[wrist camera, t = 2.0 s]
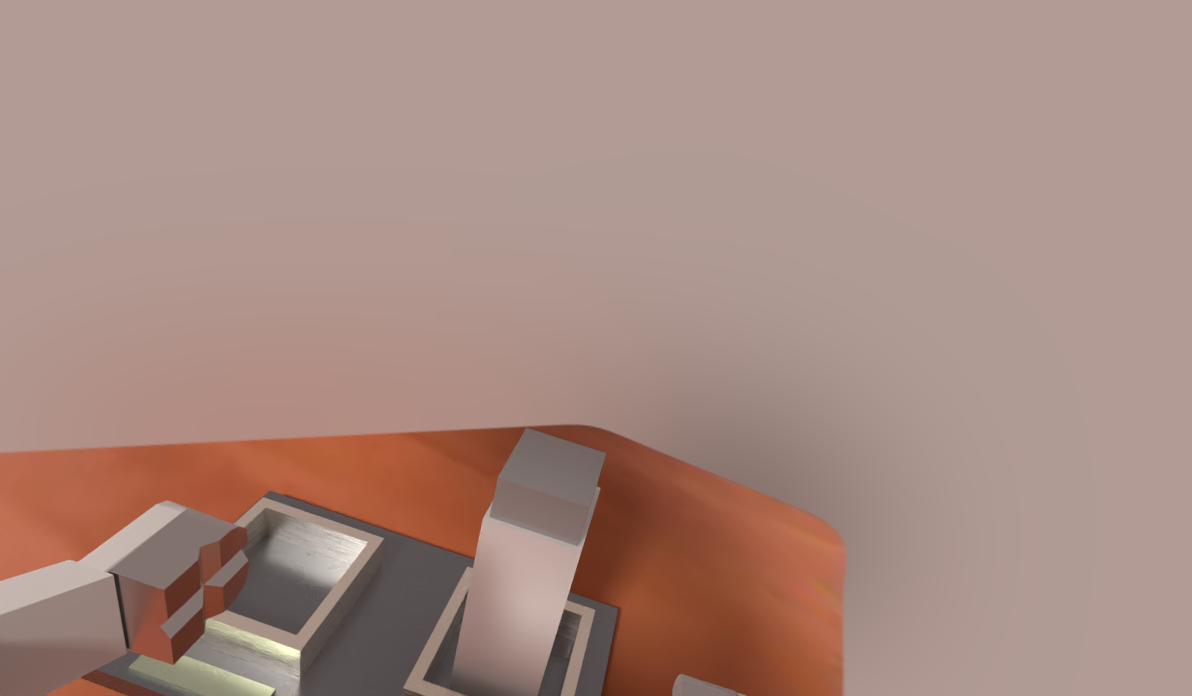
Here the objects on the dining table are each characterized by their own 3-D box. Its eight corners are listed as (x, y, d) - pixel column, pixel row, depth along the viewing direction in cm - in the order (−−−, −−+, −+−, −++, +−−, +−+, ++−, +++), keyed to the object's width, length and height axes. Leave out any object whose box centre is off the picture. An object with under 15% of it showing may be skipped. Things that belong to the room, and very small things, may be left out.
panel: (81, 678, 26) (71, 631, 25) (269, 503, 37) (269, 464, 36) (565, 858, 24) (581, 819, 23) (614, 620, 35) (627, 584, 34)
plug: (447, 695, 28) (490, 478, 22) (484, 613, 32) (528, 414, 27) (528, 724, 28) (593, 512, 22) (555, 637, 32) (614, 441, 26)
